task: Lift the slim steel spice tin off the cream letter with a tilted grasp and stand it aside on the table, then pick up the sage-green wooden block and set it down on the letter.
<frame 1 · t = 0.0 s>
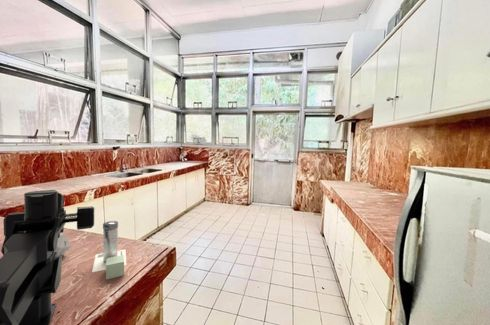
hand: (60, 212, 67), 17 cm above the counter, tool horizontal, fingers open, 9 cm apart
die: (53, 258, 71), on the counter
letter: (110, 260, 71), on the counter
paper towel roll: (48, 248, 77), on the counter
tin: (110, 259, 71), resting on letter
block: (115, 274, 63), on the counter
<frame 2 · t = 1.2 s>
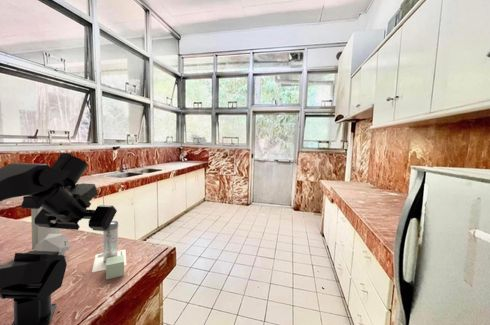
hand: (93, 229, 63), 14 cm above the counter, tool tilted 45°, fingers open, 9 cm apart
nothing on the counter moved.
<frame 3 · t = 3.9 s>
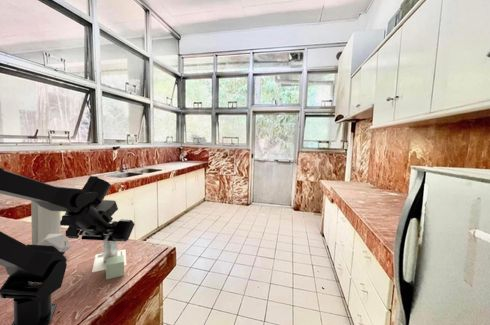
hand: (113, 239, 72), 7 cm above the counter, tool tilted 45°, fingers closed on tin, 4 cm apart
tin: (110, 259, 71), resting on letter, touching gripper
everything else where it was.
when the fingers open (7 cm above the counter, at t = 7.1 s): tin drops 1 cm, on the counter.
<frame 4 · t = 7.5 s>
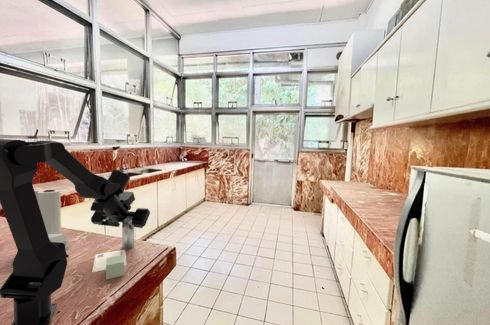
hand: (130, 226, 81), 8 cm above the counter, tool tilted 45°, fingers open, 9 cm apart
tin: (128, 247, 80), on the counter
everything else where it was.
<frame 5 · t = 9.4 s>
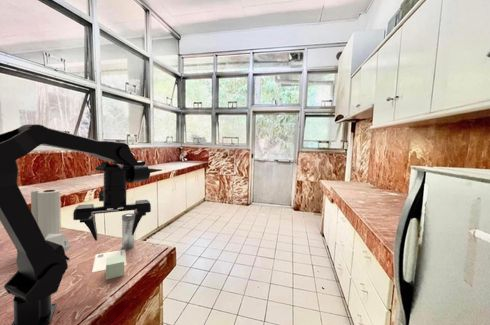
hand: (115, 237, 63), 11 cm above the counter, tool pointing down, fingers open, 9 cm apart
nothing on the counter moved.
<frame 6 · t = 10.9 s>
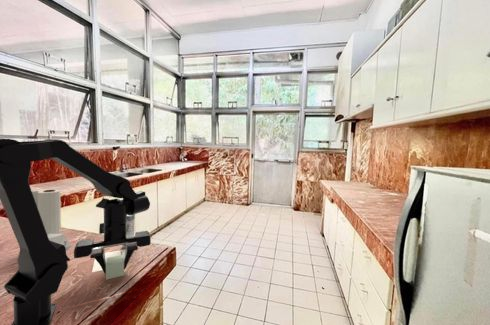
hand: (115, 270, 63), 1 cm above the counter, tool pointing down, fingers closed on block, 4 cm apart
block: (115, 274, 63), on the counter, touching gripper
everything else where it was.
when the fingers open (3 cm above the counter, at t = 14.7 s): block drops 2 cm, resting on letter.
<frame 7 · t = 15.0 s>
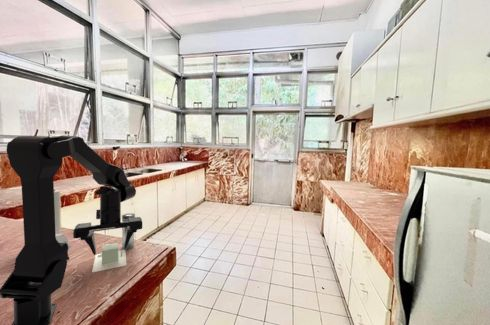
hand: (110, 251, 71), 3 cm above the counter, tool pointing down, fingers open, 8 cm apart
block: (110, 259, 71), resting on letter
everything else where it was.
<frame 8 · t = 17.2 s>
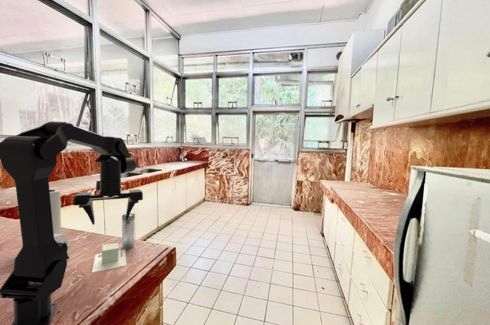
hand: (110, 222, 70), 13 cm above the counter, tool pointing down, fingers open, 9 cm apart
nothing on the counter moved.
at the end: block inside the target area on the letter (0.0 cm from its centre), point 0.2 cm above the letter's base; tin touching counter; tin tilted 0° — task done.
